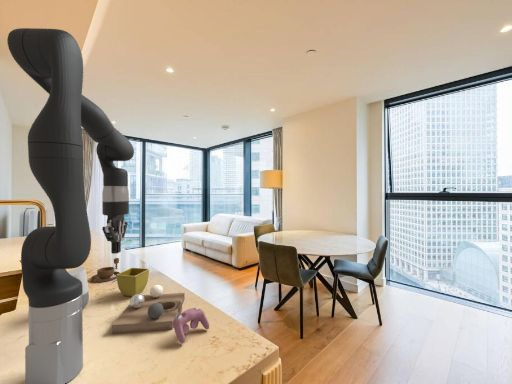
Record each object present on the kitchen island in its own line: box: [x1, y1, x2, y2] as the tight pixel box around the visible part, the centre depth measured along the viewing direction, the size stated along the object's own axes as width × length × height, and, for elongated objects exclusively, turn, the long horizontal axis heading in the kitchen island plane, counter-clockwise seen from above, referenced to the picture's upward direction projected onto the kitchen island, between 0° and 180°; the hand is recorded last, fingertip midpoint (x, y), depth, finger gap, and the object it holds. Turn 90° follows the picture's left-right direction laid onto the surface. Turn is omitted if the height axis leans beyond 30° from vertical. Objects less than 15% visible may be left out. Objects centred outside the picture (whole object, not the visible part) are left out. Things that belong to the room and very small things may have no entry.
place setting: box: [90, 257, 121, 283], centre depth 118 cm, size 18×20×6 cm
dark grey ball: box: [148, 303, 163, 319], centre depth 72 cm, size 4×4×4 cm
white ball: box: [149, 284, 164, 298], centre depth 87 cm, size 4×4×4 cm
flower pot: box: [115, 267, 150, 297], centre depth 96 cm, size 9×9×9 cm
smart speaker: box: [67, 266, 90, 310], centre depth 83 cm, size 10×9×14 cm
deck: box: [111, 292, 186, 335], centre depth 79 cm, size 20×18×2 cm
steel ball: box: [129, 293, 145, 308], centre depth 79 cm, size 4×4×4 cm
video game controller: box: [173, 307, 210, 345], centre depth 68 cm, size 10×5×7 cm, turn 141°
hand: (116, 252), depth 78 cm, fingers closed
